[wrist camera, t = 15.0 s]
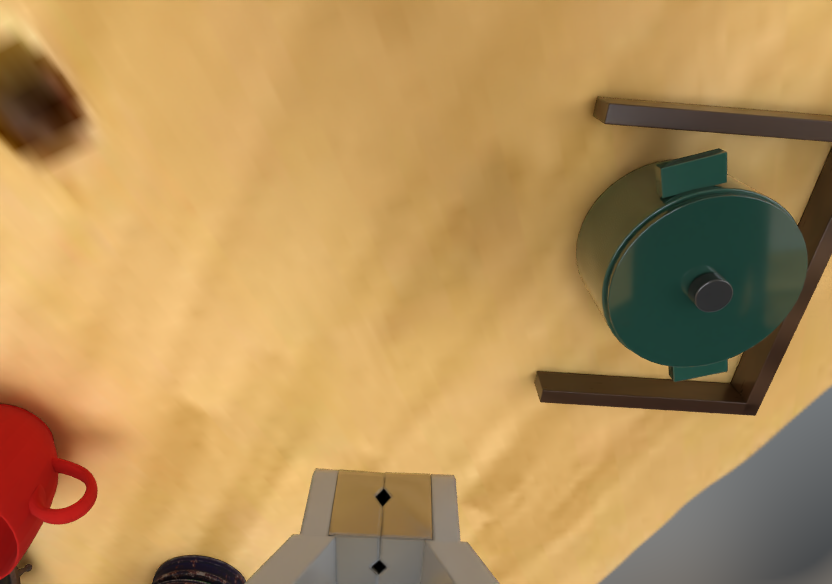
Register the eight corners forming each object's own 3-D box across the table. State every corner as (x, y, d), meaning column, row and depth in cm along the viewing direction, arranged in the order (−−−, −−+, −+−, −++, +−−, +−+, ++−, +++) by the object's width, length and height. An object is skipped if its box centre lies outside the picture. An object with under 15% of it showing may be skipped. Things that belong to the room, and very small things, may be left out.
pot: (561, 160, 36) (595, 199, 29) (750, 112, 35) (834, 140, 28) (588, 348, 43) (622, 416, 36) (747, 314, 42) (813, 378, 35)
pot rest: (597, 96, 35) (609, 103, 32) (863, 118, 35) (892, 126, 33) (534, 382, 45) (540, 402, 43) (739, 395, 46) (755, 415, 43)
